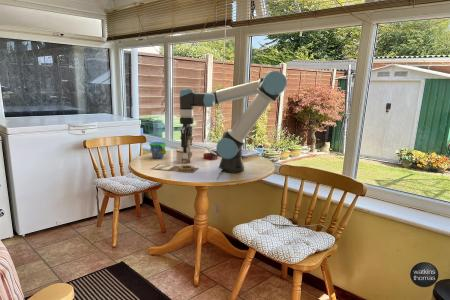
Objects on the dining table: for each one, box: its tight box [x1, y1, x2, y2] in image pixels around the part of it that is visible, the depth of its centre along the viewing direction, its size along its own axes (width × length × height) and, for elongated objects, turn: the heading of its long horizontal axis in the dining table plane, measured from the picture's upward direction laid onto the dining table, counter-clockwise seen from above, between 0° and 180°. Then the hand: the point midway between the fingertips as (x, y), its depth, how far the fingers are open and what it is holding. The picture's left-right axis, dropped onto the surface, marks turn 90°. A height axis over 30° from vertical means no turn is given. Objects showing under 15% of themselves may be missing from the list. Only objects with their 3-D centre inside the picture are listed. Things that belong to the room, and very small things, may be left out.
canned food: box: [203, 146, 218, 161], centre depth 213 cm, size 11×10×10 cm
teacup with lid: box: [175, 146, 193, 164], centre depth 197 cm, size 12×9×12 cm
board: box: [150, 163, 200, 174], centre depth 178 cm, size 26×12×3 cm, turn 78°
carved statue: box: [179, 135, 194, 165], centre depth 174 cm, size 7×4×15 cm, turn 78°
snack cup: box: [149, 141, 167, 159], centre depth 210 cm, size 16×10×10 cm
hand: (186, 157), depth 175 cm, fingers closed on carved statue, 4 cm apart
